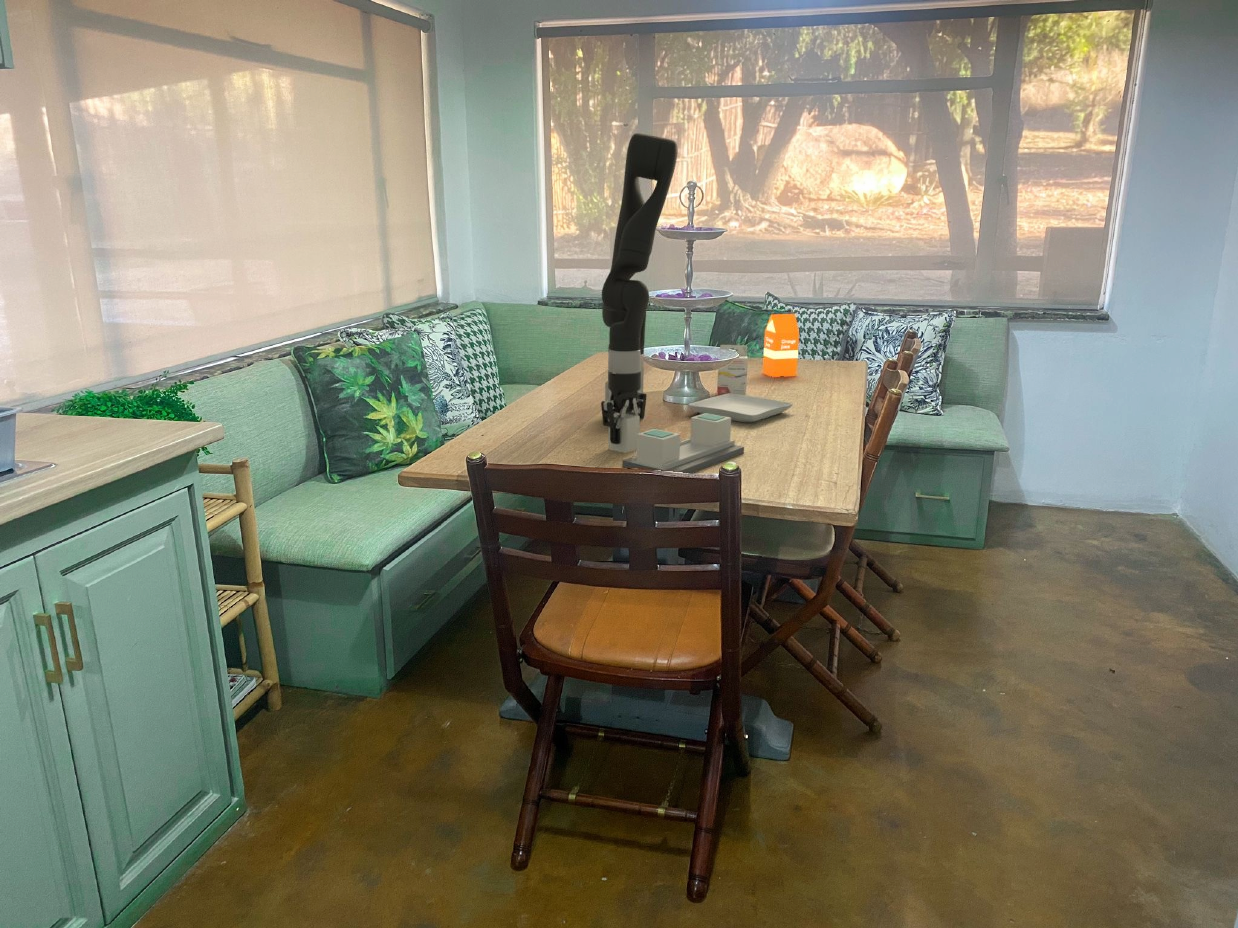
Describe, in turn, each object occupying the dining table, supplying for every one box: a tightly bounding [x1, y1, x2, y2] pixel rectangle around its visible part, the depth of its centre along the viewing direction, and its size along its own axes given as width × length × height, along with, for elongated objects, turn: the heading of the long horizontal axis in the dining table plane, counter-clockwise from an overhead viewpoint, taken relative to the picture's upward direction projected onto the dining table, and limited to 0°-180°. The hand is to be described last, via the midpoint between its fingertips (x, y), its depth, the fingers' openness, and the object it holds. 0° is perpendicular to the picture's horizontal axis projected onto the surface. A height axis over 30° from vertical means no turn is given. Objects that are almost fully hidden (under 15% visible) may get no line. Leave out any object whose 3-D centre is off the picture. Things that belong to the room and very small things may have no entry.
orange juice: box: [762, 313, 800, 378], centre depth 298 cm, size 8×9×20 cm
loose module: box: [607, 413, 641, 454], centre depth 208 cm, size 6×4×8 cm
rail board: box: [621, 413, 745, 474], centre depth 200 cm, size 14×27×8 cm, turn 140°
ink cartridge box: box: [716, 344, 749, 396], centre depth 266 cm, size 9×5×15 cm, turn 84°
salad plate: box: [688, 393, 793, 423], centre depth 244 cm, size 21×21×3 cm
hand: (623, 440), depth 208 cm, fingers open, 5 cm apart
